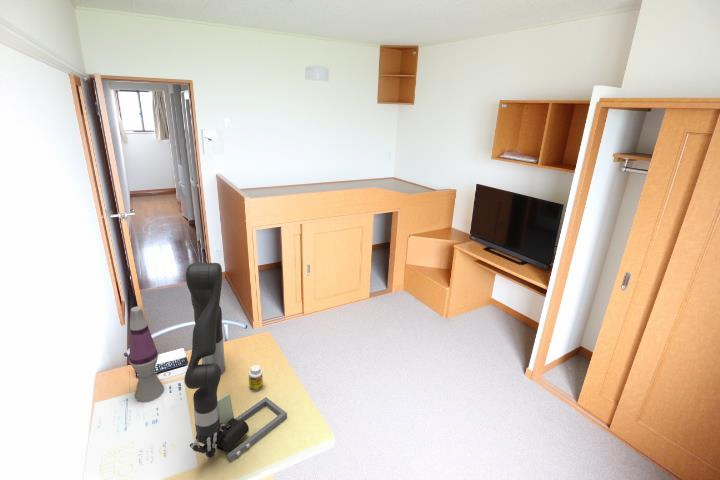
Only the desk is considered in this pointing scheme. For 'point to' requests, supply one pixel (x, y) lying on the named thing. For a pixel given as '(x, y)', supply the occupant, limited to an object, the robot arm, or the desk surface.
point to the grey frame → (263, 431)
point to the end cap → (232, 435)
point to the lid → (225, 409)
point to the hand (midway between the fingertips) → (210, 455)
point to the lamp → (143, 357)
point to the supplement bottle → (255, 378)
